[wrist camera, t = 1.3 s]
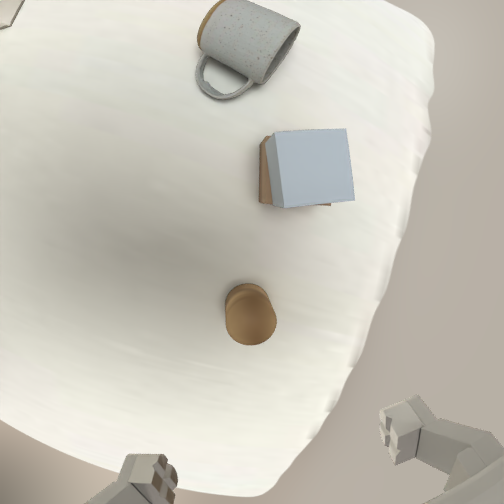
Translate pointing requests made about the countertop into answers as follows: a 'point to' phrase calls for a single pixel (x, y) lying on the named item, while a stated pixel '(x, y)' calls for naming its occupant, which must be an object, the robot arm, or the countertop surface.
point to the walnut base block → (266, 177)
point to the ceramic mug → (244, 42)
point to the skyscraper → (9, 12)
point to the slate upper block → (309, 167)
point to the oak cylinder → (249, 315)
